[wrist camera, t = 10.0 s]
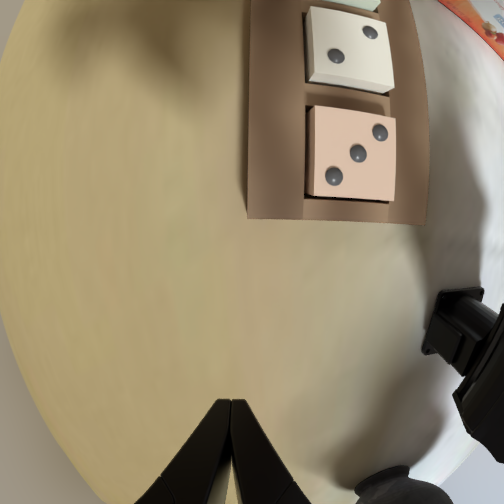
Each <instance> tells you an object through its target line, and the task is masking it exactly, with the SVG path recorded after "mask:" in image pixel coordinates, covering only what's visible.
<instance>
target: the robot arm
mask: <svg viewBox="0 0 504 504" xmlns="http://www.w3.org/2000/svg"><path fill="white" fill-rule="evenodd" d="M483 295H484V288H482V287H473V288H463V289H453V290H443V291H441V292H440V293H439V294H438V297H437V301H436V305H435V309H434V313H433V316H432V320H431V323H430V326H429V330H428V333H427V336H426V339H425V342H424V345H423V348H422V353H423V354H424V355H430V354H435V353H438V354H439V355H440V356H441V357H442V358H443V359H444V360H445V361H446V362H447V363H448V364H451V365H452V366H453V367H454V368H455V370H456V371H457V372H458V373H459V374H460V375H461V376H462V377H464V376H465V378H464V379H463V381H462V382H461V384H460V385H459V387H458V388H457V389H456V390H455V391H454V393H453V394H452V396H453V399H454V401H455V404H456V406H457V409H458V411H459V414H460V416H461V419H462V422H463V425H464V427H465V429H466V431H467V433H468V434H470V435H471V437H472V438H474V439H476V440H477V441H479V442H480V443H481V444H483V445H484V446H485V447H486V448H487V449H488V451H489V452H490V453H491V454H492V456H493V457H494V458H495V460H496V461H497V462H499V463H503V464H504V303H503V304H502V306H501V309H500V310H501V311H500V313H499V314H497V313H496V312H494V311H493V310H491V309H490V308H489V307H487V306H486V305H484V304H483V303H481V302H482V298H483ZM442 297H443V298H442ZM231 461H232V467H233V474H234V481H235V487H236V493H237V499H238V504H311V502H310V501H309V500H308V499H307V497H306V496H305V495H304V493H303V492H302V491H301V489H300V488H299V486H298V485H297V483H296V482H295V481H293V480H294V479H293V477H292V476H291V474H290V473H289V471H288V470H287V468H286V467H285V465H284V463H283V462H282V460H281V459H280V457H279V456H278V454H277V452H276V451H275V449H274V447H273V446H272V444H271V443H270V441H269V439H268V438H267V436H266V434H265V433H264V431H263V429H262V427H261V426H260V424H259V422H258V421H257V419H256V417H255V415H254V414H253V412H252V410H251V408H250V406H249V405H248V403H247V401H246V400H245V399H232V401H231V400H230V399H217V400H216V401H215V402H214V404H213V405H212V407H211V408H210V409H209V411H208V412H207V414H206V415H205V416H204V418H203V419H202V421H201V422H200V423H199V425H198V426H197V427H196V429H195V430H194V431H193V433H192V434H191V435H190V437H189V438H188V439H187V441H186V442H185V443H184V445H183V446H182V447H181V449H180V450H179V451H178V453H177V454H176V455H175V457H174V458H173V459H172V460H171V462H170V463H169V464H168V466H167V467H166V468H165V469H164V471H163V472H162V473H161V476H159V477H158V478H157V479H156V480H155V482H154V483H153V484H152V485H151V486H150V488H149V489H148V490H147V491H146V492H145V493H144V494H143V495H142V497H140V498H139V499H138V500H137V501H136V502H135V503H134V504H225V500H226V494H227V488H228V482H229V476H230V470H231Z"/></svg>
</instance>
